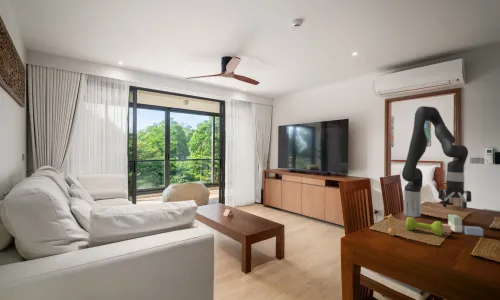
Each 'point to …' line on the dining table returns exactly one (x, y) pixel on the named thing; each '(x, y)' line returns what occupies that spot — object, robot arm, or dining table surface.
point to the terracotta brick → (446, 228)
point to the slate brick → (473, 230)
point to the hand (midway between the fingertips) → (454, 207)
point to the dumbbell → (424, 226)
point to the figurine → (390, 230)
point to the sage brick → (454, 219)
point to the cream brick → (455, 227)
